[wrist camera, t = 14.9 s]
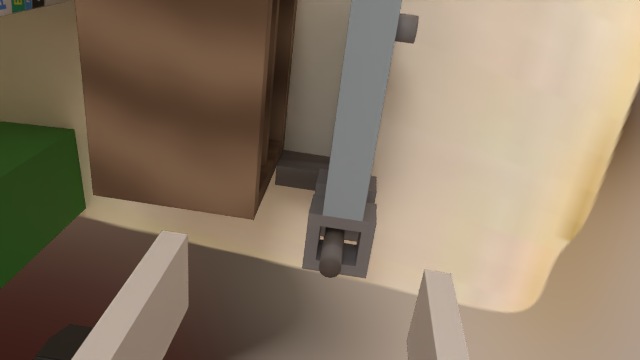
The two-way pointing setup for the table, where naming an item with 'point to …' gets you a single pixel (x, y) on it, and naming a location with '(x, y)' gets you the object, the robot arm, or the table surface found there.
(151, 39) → the cabinet
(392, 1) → the door
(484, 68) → the table surface
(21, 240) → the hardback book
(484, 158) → the table surface
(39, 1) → the light bulb box
